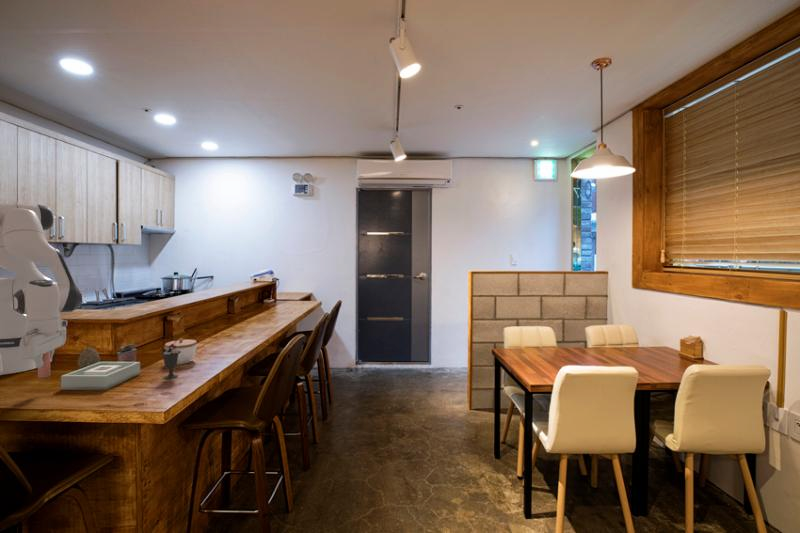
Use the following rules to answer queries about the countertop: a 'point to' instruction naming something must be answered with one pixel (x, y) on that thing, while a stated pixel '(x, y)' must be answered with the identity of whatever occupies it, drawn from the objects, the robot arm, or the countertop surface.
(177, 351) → the sundae
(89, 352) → the decorative egg
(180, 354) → the lidded bowl
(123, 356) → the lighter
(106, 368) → the box
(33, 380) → the countertop surface
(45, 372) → the dowel
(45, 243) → the robot arm
